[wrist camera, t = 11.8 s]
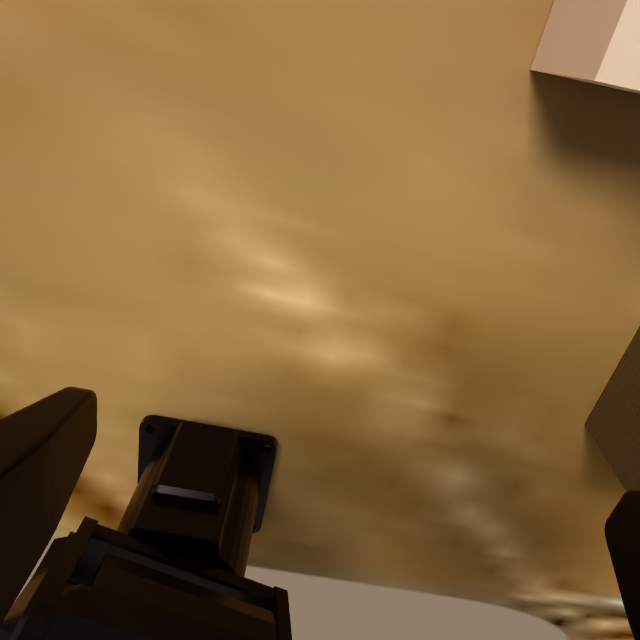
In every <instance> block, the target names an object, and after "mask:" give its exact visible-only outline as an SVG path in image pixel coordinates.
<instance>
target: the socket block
mask: <svg viewBox="0 0 640 640" xmlns="http://www.w3.org/2000/svg"><path fill="white" fill-rule="evenodd" d="M585 426H586V427H587V429H588V430H589V432H590V434H591V435H592V437H593V438H594V440H595V442H596V443H597V445H598V446H599V448H600V450H601V451H602V453H603V454H604V456H605V458H606V459H607V461H608V462H609V464H610V466H611V467H612V469H613V470H614V472H615V474H616V475H617V477H618V478H619V480H620V482H621V483H622V485H623V486H624V488H625V490H626V491H629V490H632V489H636V490H640V328H639V329H638V331H637V333H636V335H635V337H634V338H633V340H632V342H631V344H630V345H629V347H628V349H627V351H626V352H625V354H624V356H623V358H622V360H621V361H620V363H619V365H618V367H617V368H616V370H615V372H614V374H613V376H612V377H611V379H610V381H609V383H608V384H607V386H606V388H605V390H604V391H603V393H602V395H601V397H600V399H599V400H598V402H597V404H596V406H595V407H594V409H593V411H592V413H591V415H590V416H589V418H588V420H587V422H586V423H585Z"/></svg>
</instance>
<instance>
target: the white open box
mask: <svg viewBox="0 0 640 640" xmlns="http://www.w3.org/2000/svg"><path fill="white" fill-rule="evenodd" d="M530 70H533V71H538V72H542V73H547V74H551V75H556V76H561V77H565V78H570V79H574V80H579V81H583V82H588V83H592V84H597V85H601V86H606V87H610V88H615V89H619V90H624V91H628V92H633V93H638V94H640V0H554V3H553V6H552V9H551V12H550V15H549V17H548V20H547V23H546V26H545V29H544V32H543V35H542V37H541V40H540V43H539V46H538V49H537V52H536V55H535V57H534V60H533V63H532V66H531V69H530Z"/></svg>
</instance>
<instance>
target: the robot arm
mask: <svg viewBox="0 0 640 640" xmlns="http://www.w3.org/2000/svg"><path fill="white" fill-rule="evenodd" d="M149 425H152V426H154V427H155V428H152V427H150V426H149ZM96 433H97V397H96V393H95V392H94V391H92V390H88V389H82V388H77V387H67V388H64V389H62V390H60V391H58V392H56V393H54V394H52V395H50V396H48V397H46V398H44V399H41V400H39V401H37V402H35V403H33V404H31V405H29V406H27V407H25V408H23V409H21V410H19V411H17V412H15V413H13V414H11V415H8V416H6V417H4V418H2V419H0V640H292V634H291V623H290V613H289V602H288V592H287V590H284V589H281V588H279V587H276V586H275V587H274V588H272V587H269V586H266V585H264V584H261V583H258V582H256V581H253V580H250V579H247V578H245V577H244V575H245V570H246V564H247V559H248V553H249V548H250V542H251V537H252V533H256V532H258V531H259V530H260V528H261V524H262V519H263V514H264V509H265V504H266V499H267V494H268V489H269V484H270V479H271V474H272V469H273V464H274V459H275V454H276V449H277V441H276V440H275V439H274V438H273V437H271V436H268V435H263V434H257V433H251V432H246V431H240V430H234V429H228V428H223V427H217V426H211V425H205V424H200V423H194V422H188V421H182V420H177V419H171V418H165V417H160V416H154V415H149V416H146V417H145V418H144V419H143V420H142V422H141V424H140V427H139V458H138V485H137V487H136V489H135V492H134V494H133V496H132V498H131V500H130V502H129V505H128V507H127V509H126V511H125V513H124V516H123V518H122V520H121V522H120V524H119V526H118V529H117V530H114V529H111V528H109V527H106V526H103V525H100V524H98V521H97V520H94V519H91V518H89V517H86V516H85V518H84V520H83V521H82V523H81V525H80V527H79V528H78V530H77V532H76V533H74V532H72V531H71V532H70V533H69V535H68V537H63V538H58V539H54V541H53V543H52V544H51V546H50V548H49V550H48V551H47V553H46V555H45V556H44V558H43V560H42V562H41V563H40V565H39V567H38V568H37V570H36V572H35V574H34V575H33V577H32V578H31V580H30V581H29V583H28V584H27V586H26V587H25V589H24V590H23V591H22V593H21V594H20V595H19V593H20V591H21V589H22V588H23V586H24V584H25V583H26V581H27V579H28V577H29V576H30V574H31V572H32V571H33V569H34V567H35V566H36V564H37V562H38V560H39V559H40V557H41V555H42V553H43V552H44V550H45V548H46V546H47V545H48V543H49V541H50V539H51V538H52V536H53V534H54V532H55V530H56V528H57V526H58V524H59V521H60V519H61V517H62V515H63V513H64V510H65V508H66V506H67V504H68V501H69V499H70V497H71V495H72V492H73V490H74V488H75V486H76V483H77V481H78V479H79V477H80V474H81V472H82V470H83V467H84V465H85V463H86V461H87V458H88V456H89V454H90V452H91V449H92V447H93V445H94V442H95V438H96ZM263 445H268V446H270V447H264V446H263ZM605 538H606V541H607V545H608V549H609V552H610V556H611V560H612V564H613V567H614V571H615V575H616V578H617V582H618V586H619V589H620V593H621V597H622V600H623V604H624V608H625V611H626V615H627V618H628V621H629V625H630V628H631V631H632V634H633V636H634V639H635V640H640V490H636V489H632V490H629V491H627V492H625V493H624V495H623V496H622V498H621V499H620V501H619V502H618V504H617V505H616V507H615V508H614V510H613V511H612V513H611V514H610V516H609V517H608V519H607V521H606V524H605ZM18 595H19V597H18V598H17V596H18ZM16 598H17V600H16ZM15 600H16V601H15ZM13 603H14V604H13Z"/></svg>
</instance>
